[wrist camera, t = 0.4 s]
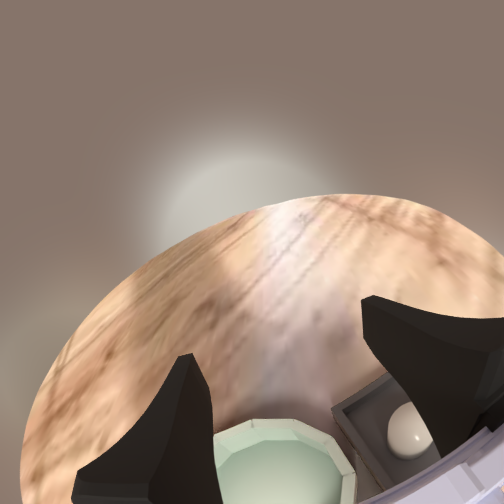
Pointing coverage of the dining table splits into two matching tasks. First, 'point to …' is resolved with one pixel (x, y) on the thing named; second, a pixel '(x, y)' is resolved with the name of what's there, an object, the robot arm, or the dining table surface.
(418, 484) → the robot arm
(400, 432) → the pebble
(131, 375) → the dining table surface
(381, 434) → the tray
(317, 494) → the bowl
